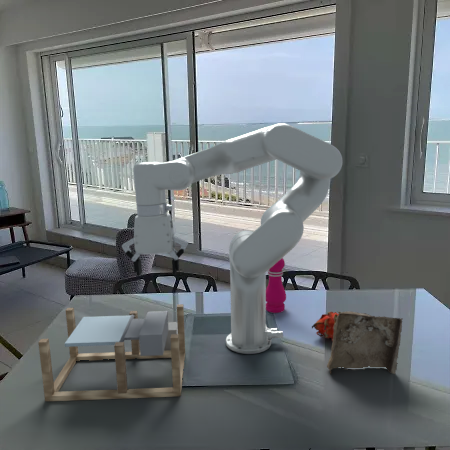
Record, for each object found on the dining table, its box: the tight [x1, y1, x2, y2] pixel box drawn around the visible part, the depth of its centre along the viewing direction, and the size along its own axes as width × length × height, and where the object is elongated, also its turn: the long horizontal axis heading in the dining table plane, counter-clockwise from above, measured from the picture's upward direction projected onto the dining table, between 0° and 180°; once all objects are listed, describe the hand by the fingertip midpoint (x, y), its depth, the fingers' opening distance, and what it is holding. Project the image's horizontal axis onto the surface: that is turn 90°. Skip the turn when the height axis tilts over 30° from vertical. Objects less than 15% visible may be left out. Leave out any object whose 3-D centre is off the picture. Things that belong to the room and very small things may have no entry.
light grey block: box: [164, 321, 178, 351], centre depth 114 cm, size 5×5×6 cm
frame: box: [38, 303, 186, 402], centre depth 99 cm, size 30×19×14 cm, turn 92°
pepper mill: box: [266, 257, 287, 314], centre depth 136 cm, size 7×7×20 cm
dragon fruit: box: [311, 311, 342, 343], centre depth 117 cm, size 8×8×12 cm
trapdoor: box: [64, 310, 169, 356], centre depth 98 cm, size 21×15×5 cm
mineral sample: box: [326, 310, 404, 375], centre depth 99 cm, size 17×4×15 cm, turn 88°
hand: (157, 273), depth 110 cm, fingers open, 9 cm apart
